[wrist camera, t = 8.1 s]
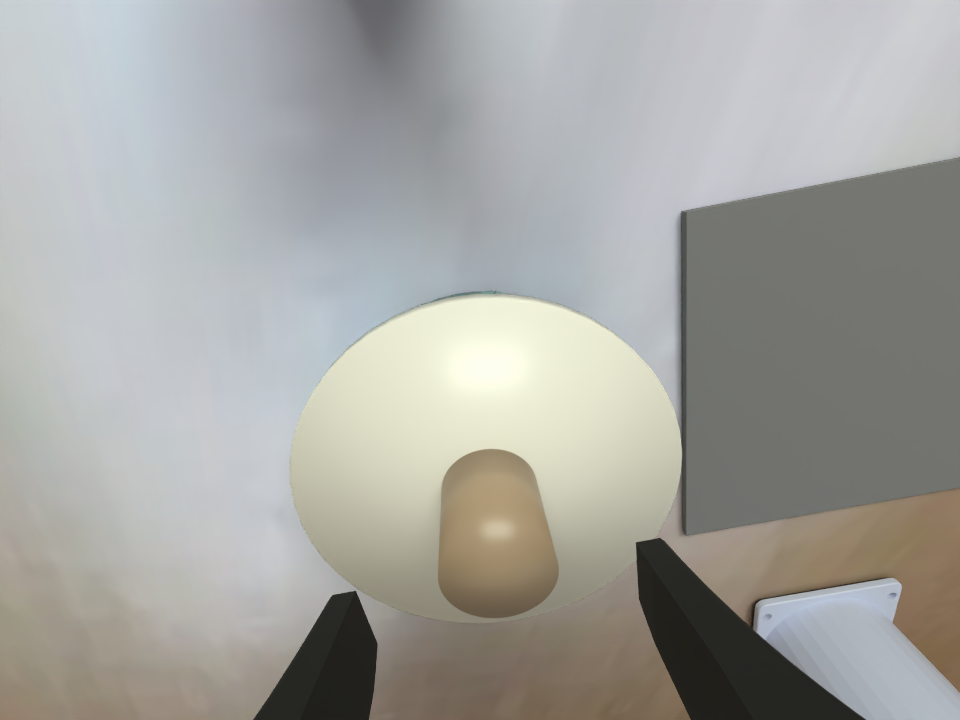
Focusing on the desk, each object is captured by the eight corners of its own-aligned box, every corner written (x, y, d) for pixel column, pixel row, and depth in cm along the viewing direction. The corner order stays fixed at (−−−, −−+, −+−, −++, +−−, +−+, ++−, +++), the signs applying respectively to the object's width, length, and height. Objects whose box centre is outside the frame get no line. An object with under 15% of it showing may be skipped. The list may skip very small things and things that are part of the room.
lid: (675, 573, 18) (736, 685, 14) (362, 629, 19) (336, 754, 15) (666, 253, 13) (757, 289, 9) (235, 340, 13) (142, 412, 9)
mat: (994, 475, 23) (1003, 479, 22) (682, 529, 23) (686, 535, 23) (1111, 128, 17) (1127, 126, 16) (681, 211, 17) (686, 212, 17)
